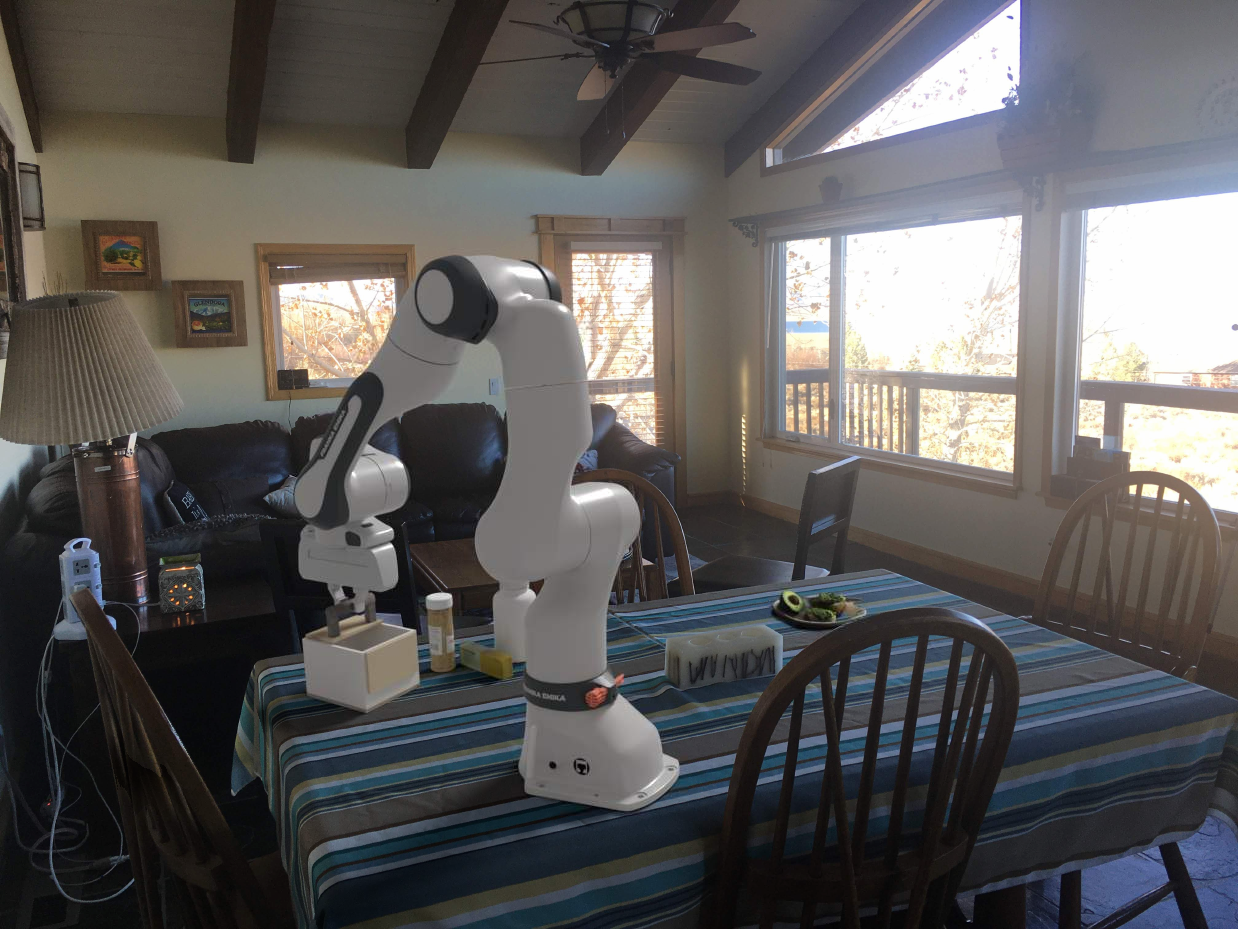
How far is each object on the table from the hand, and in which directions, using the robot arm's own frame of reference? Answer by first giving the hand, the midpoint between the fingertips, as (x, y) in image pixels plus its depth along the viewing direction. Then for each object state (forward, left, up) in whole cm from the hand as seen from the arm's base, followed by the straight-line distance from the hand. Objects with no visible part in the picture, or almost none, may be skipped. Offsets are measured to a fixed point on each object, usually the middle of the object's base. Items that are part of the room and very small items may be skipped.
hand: (350, 609), depth 154 cm
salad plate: (-55, -72, -15) cm, 92 cm away
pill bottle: (-15, -25, -14) cm, 32 cm away
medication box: (-14, -17, -14) cm, 26 cm away
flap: (+2, 0, -4) cm, 4 cm away
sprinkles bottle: (-7, -14, -14) cm, 21 cm away
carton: (-2, 0, -14) cm, 14 cm away
